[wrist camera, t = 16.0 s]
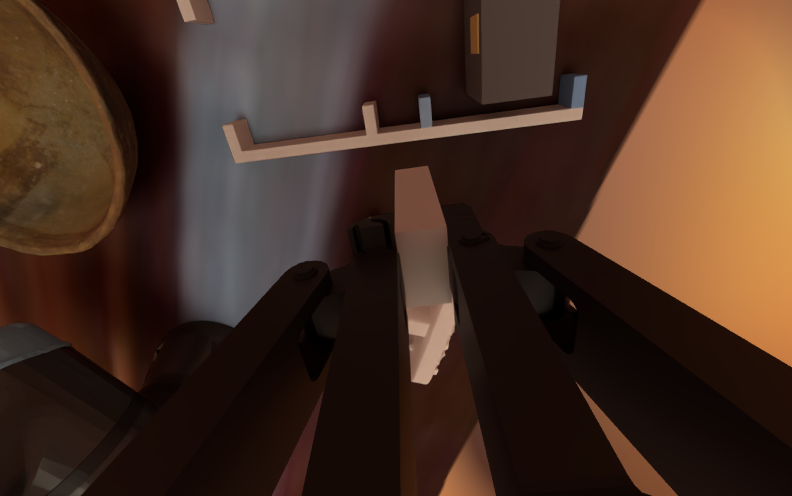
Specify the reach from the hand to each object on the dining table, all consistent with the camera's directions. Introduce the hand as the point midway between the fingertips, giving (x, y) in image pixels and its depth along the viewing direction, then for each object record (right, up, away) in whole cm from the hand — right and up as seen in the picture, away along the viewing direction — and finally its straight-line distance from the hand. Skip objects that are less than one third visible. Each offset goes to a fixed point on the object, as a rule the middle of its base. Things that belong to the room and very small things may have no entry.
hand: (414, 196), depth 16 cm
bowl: (-32, +11, +18) cm, 38 cm away
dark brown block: (+8, +16, +14) cm, 23 cm away
